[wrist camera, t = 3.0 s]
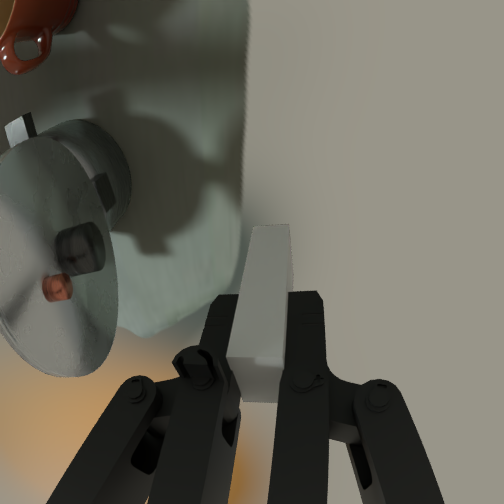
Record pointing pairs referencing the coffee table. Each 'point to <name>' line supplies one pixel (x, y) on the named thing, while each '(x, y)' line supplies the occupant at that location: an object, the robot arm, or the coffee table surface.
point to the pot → (87, 159)
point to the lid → (54, 261)
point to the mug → (31, 29)
